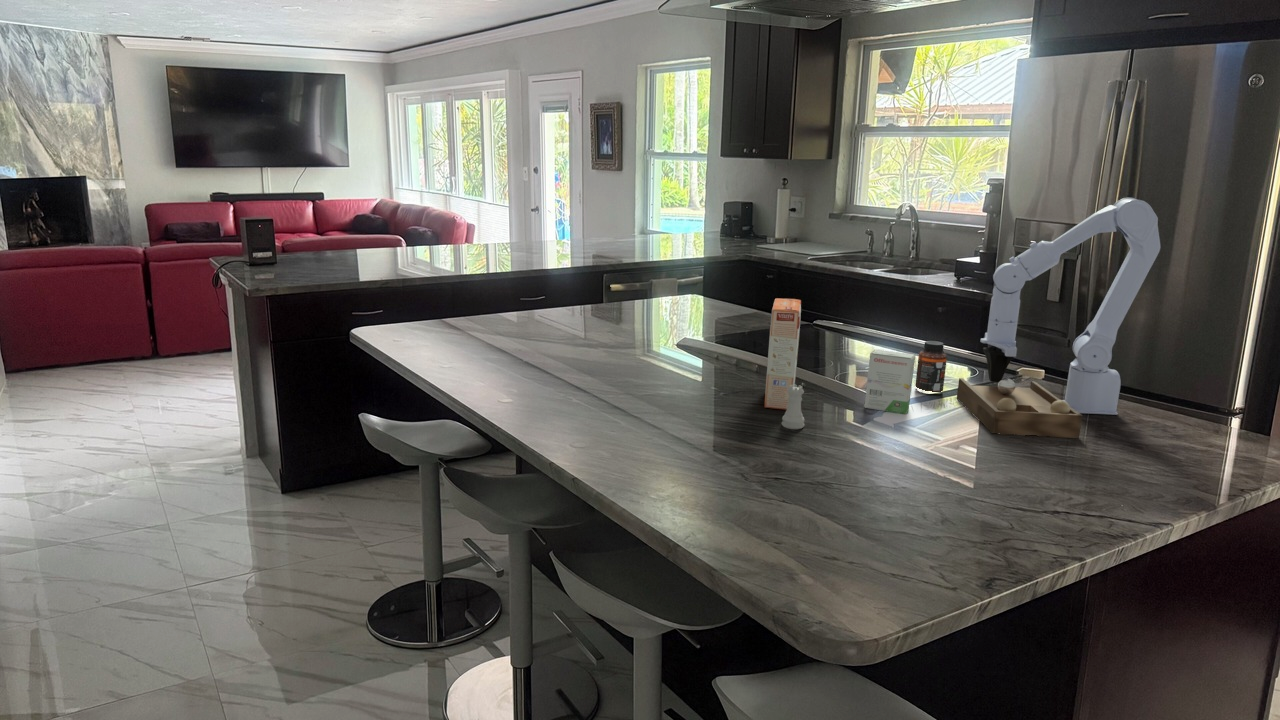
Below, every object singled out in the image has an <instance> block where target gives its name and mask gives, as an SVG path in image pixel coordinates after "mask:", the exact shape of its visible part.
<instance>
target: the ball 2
mask: <svg viewBox="0 0 1280 720" xmlns="http://www.w3.org/2000/svg"><path fill="white" fill-rule="evenodd" d="M1063 400H1064V399H1060V400H1057V401H1055V402H1053V403H1052V404H1051V407H1050V411H1051V413H1066V414H1069V412H1070V407H1069V405H1068V403H1067V402H1065V401H1063Z"/></svg>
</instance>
